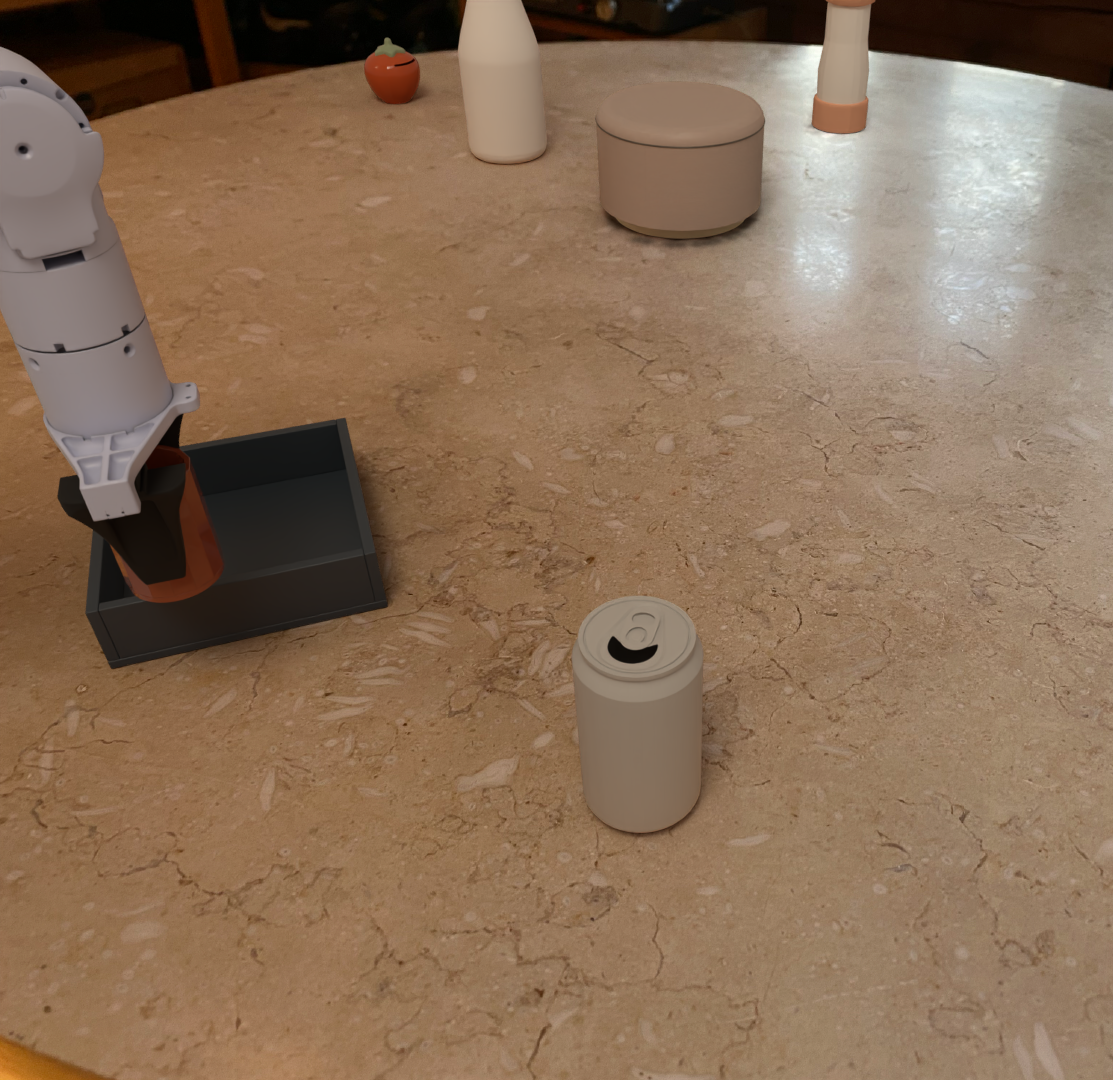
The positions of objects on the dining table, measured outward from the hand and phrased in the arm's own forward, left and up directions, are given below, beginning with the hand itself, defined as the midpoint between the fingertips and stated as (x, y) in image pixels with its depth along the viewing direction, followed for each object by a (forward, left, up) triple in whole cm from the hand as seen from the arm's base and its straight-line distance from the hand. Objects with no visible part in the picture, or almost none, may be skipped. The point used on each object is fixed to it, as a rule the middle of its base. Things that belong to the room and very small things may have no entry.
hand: (166, 546), depth 60 cm
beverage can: (+21, -18, -10) cm, 30 cm away
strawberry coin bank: (+26, +106, -10) cm, 110 cm away
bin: (+2, +10, -9) cm, 14 cm away
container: (+50, +57, -10) cm, 77 cm away
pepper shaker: (+80, +78, -10) cm, 113 cm away
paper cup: (0, 0, -2) cm, 2 cm away
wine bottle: (+36, +81, -10) cm, 89 cm away
